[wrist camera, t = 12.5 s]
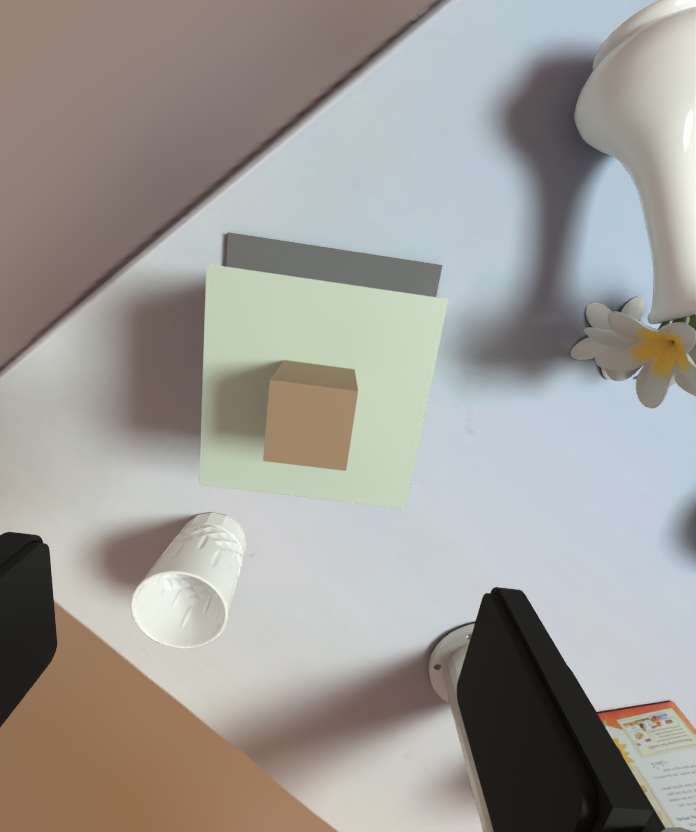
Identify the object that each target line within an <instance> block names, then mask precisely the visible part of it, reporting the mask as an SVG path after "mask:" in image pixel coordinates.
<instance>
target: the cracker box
mask: <svg viewBox="0 0 696 832" xmlns="http://www.w3.org/2000/svg"><path fill="white" fill-rule="evenodd" d="M598 716H599V717H600V719H601V721H602V722H603V724H604V726H605V727H606V729H607V731H608V733H609V734H610V736H611V738H612V739H613V741H614V743H615V744H616V746H617V748H618V749H619V751H620V753H621V754H622V756H623V758H624V759H625V761H626V763H627V764H628V766H629V768H630V769H631V771H632V773H633V774H634V776H635V778H636V779H637V781H638V783H639V784H640V786H641V788H642V789H643V791H644V793H645V795H646V796H647V798H648V800H649V801H650V803H651V805H652V806H653V808H654V810H655V811H656V813H657V815H658V816H659V818H660V820H661V821H662V823H663V825H664V826H665V828H673V827H681V828H684V829H687V830H690V831H693V832H696V729H695V728H694V727H693V726H692V724H691V723H690V722H689V720H688V719H687V718H686V717H685V715H684V714H683V713H682V712H681V711H680V709H679V708H678V707H677V706H676V705H675V703H674V702H671V701H670V702H665V703H659V704H653V705H647V706H640V707H634V708H628V709H622V710H617V711H610V712H604V713H598Z"/></svg>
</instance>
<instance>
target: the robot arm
mask: <svg viewBox="0 0 696 832" xmlns="http://www.w3.org/2000/svg"><path fill="white" fill-rule="evenodd" d="M56 648H57V636H56V624H55V612H54V600H53V588H52V576H51V564H50V552H49V547H48V545H47V544H44V543H43V541H42V539H41V537H40V536H37V535H31V534H22V533H14V532H7V533H4V534H2V535H0V727H1V726H2V724H3V723H4V722H5V720H6V719H7V718H8V717H9V715H10V714H11V713H12V711H13V710H14V709H15V708H16V706H17V705H18V704H19V703H20V701H21V700H22V699H23V697H24V696H25V695H26V693H27V692H28V691H29V689H30V688H31V687H32V686H33V684H34V683H35V682H36V681H37V679H38V678H39V677H40V675H41V674H42V673H43V671H44V670H45V669H46V668H47V666H48V665H49V664H50V662H51V661H52V658H53V657H54V654H55V652H56ZM428 671H429V677H430V681H431V684H432V687H433V689H434V690H435V692H436V693H437V694H438V695H439V696H440V697H441V698H442V699H443V700H444V701H446V702H447V703H449V704H450V706H451V710H452V714H453V717H454V721H455V725H456V729H457V733H458V737H459V741H460V744H461V748H462V752H463V756H464V760H465V764H466V768H467V771H468V775H469V779H470V783H471V787H472V791H473V795H474V798H475V802H476V806H477V810H478V814H479V818H480V821H481V825H482V829H483V832H693V831H690V830H687V829H684V828H681V827H673V828H665V826H664V825H663V823H662V821H661V820H660V818H659V816H658V815H657V813H656V811H655V810H654V808H653V806H652V805H651V803H650V801H649V800H648V798H647V796H646V795H645V793H644V791H643V789H642V788H641V786H640V784H639V783H638V781H637V779H636V778H635V776H634V774H633V773H632V771H631V769H630V768H629V766H628V764H627V763H626V761H625V759H624V758H623V756H622V754H621V753H620V751H619V749H618V748H617V746H616V744H615V743H614V741H613V739H612V738H611V736H610V734H609V733H608V731H607V729H606V727H605V726H604V724H603V722H602V721H601V719H600V717H599V716H598V714H597V712H596V711H595V709H594V707H593V706H592V704H591V702H590V701H589V699H588V697H587V696H586V694H585V692H584V691H583V689H582V687H581V686H580V684H579V682H578V681H577V679H576V677H575V676H574V674H573V672H572V671H571V670H570V668H569V667H568V666H567V664H566V663H565V661H564V659H563V658H562V656H561V654H560V653H559V651H558V649H557V648H556V646H555V644H554V642H553V641H552V639H551V637H550V636H549V634H548V632H547V631H546V629H545V627H544V626H543V624H542V622H541V621H540V619H539V617H538V615H537V614H536V612H535V610H534V609H533V607H532V605H531V604H530V602H529V600H528V599H527V597H526V595H525V594H524V593H523V591H521V590H516V589H507V588H498V587H496V588H493V589H492V591H491V593H490V594H489V593H486V594H485V595H484V596H483V598H482V602H481V605H480V608H479V612H478V615H477V618H476V622H475V624H470V625H467V626H464V627H461V628H458V629H457V630H455V631H453V632H451V633H449V634H448V635H447V636H446V637H444V638H443V639H442V640H441V641H440V642H439V643H438V644H437V645H436V647H435V648H434V650H433V652H432V653H431V656H430V659H429V665H428Z"/></svg>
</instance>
